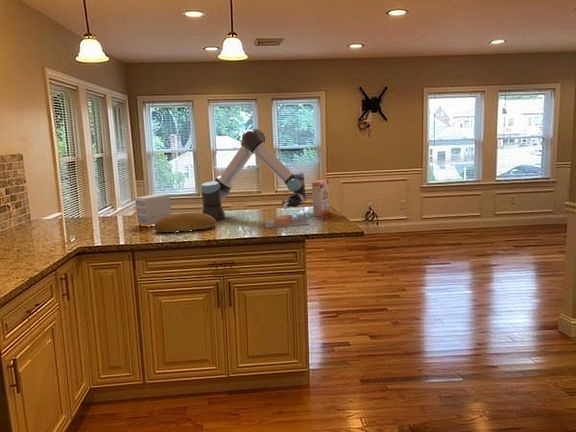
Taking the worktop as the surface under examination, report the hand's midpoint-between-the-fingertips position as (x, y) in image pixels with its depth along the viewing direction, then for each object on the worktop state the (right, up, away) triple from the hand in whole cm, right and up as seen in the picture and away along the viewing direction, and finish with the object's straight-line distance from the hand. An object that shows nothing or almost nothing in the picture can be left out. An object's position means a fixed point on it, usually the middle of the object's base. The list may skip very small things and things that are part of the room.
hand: (284, 206), depth 269 cm
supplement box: (-81, -11, +27) cm, 86 cm away
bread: (-57, -14, +3) cm, 58 cm away
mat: (+1, -10, +1) cm, 10 cm away
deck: (+1, -7, +5) cm, 8 cm away
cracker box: (+23, -5, +22) cm, 32 cm away
